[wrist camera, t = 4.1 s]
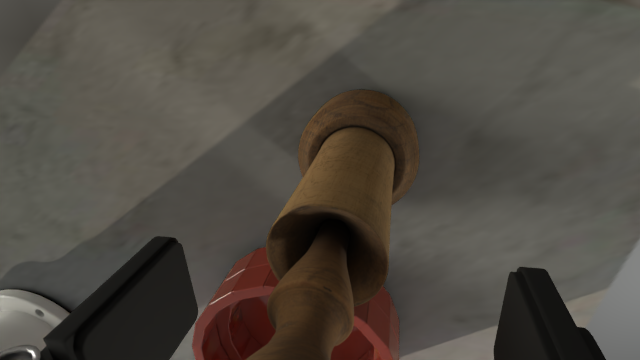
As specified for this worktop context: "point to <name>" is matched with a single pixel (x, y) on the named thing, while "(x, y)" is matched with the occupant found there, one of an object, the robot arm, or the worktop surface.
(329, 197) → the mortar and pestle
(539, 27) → the worktop surface
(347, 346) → the bowl
